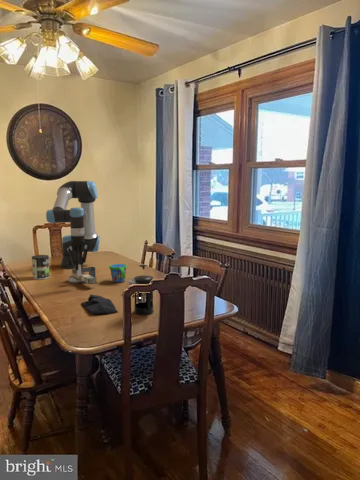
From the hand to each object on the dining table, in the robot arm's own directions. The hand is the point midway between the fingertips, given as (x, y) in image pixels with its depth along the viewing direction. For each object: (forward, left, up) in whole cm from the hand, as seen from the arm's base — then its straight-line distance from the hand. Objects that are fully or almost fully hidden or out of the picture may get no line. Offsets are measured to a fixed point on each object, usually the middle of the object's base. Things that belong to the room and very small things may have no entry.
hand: (79, 275), depth 216 cm
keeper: (-10, -9, -8) cm, 15 cm away
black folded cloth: (+14, +35, -9) cm, 39 cm away
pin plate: (-10, -15, -8) cm, 20 cm away
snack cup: (-26, +5, -8) cm, 27 cm away
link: (-8, -6, -5) cm, 11 cm away
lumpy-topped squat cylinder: (-18, +32, -8) cm, 37 cm away
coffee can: (0, -40, -8) cm, 41 cm away
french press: (+4, +57, -8) cm, 57 cm away
